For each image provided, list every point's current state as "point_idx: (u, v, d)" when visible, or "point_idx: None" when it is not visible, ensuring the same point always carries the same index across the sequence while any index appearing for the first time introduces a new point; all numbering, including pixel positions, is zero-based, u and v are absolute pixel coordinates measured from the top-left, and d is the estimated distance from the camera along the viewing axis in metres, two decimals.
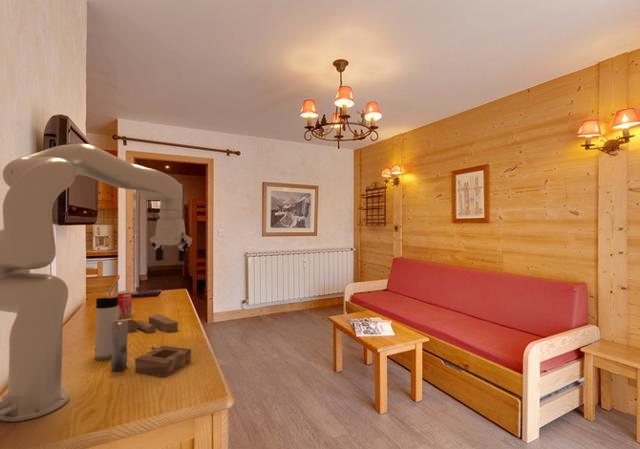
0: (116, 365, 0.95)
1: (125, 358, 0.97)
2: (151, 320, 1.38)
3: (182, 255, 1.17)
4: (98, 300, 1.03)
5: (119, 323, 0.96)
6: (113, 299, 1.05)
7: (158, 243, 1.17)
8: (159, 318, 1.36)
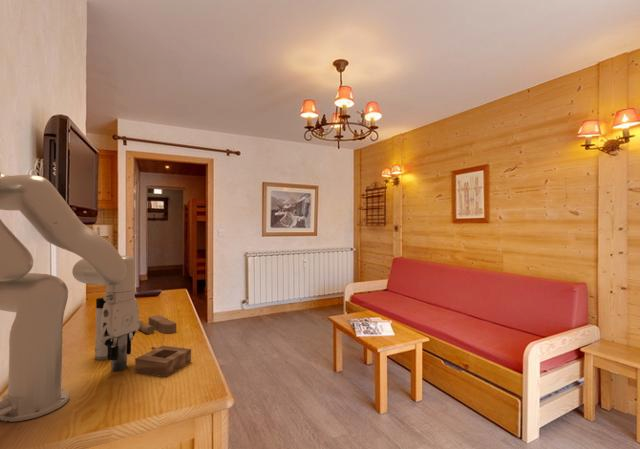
0: (116, 365, 0.95)
1: (125, 358, 0.97)
2: (151, 321, 1.37)
3: None
4: (98, 300, 1.03)
5: None
6: None
7: (118, 335, 0.93)
8: (158, 319, 1.35)
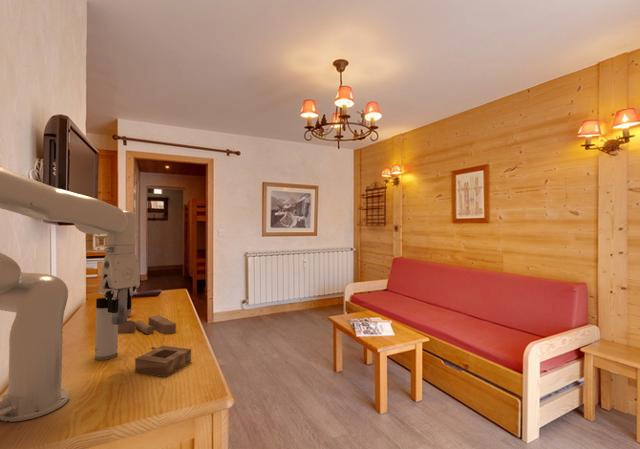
0: (116, 318, 0.95)
1: (125, 312, 0.97)
2: (151, 321, 1.36)
3: None
4: (98, 300, 1.03)
5: None
6: None
7: (118, 287, 0.93)
8: (158, 319, 1.35)
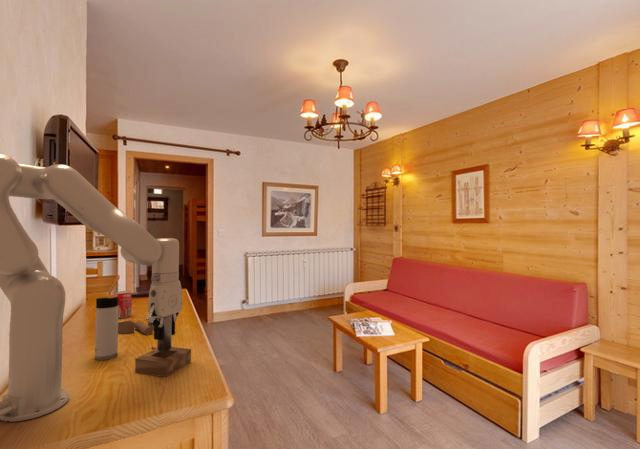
0: (162, 345, 0.97)
1: (170, 338, 0.99)
2: None
3: None
4: (98, 300, 1.03)
5: None
6: (113, 299, 1.05)
7: (165, 315, 0.95)
8: None
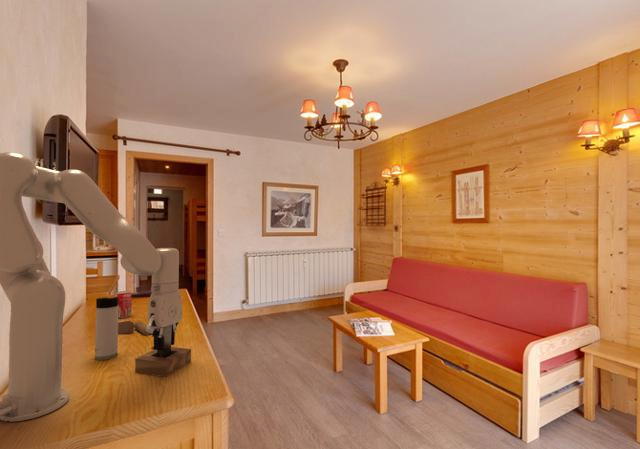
0: (161, 355, 0.97)
1: (170, 348, 0.98)
2: None
3: None
4: (98, 300, 1.03)
5: None
6: (113, 299, 1.05)
7: (164, 325, 0.95)
8: None
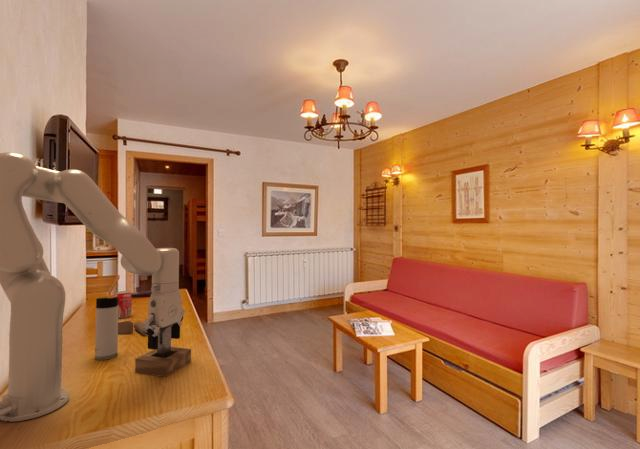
0: None
1: None
2: None
3: None
4: (98, 300, 1.03)
5: None
6: (113, 299, 1.05)
7: (164, 325, 0.95)
8: None
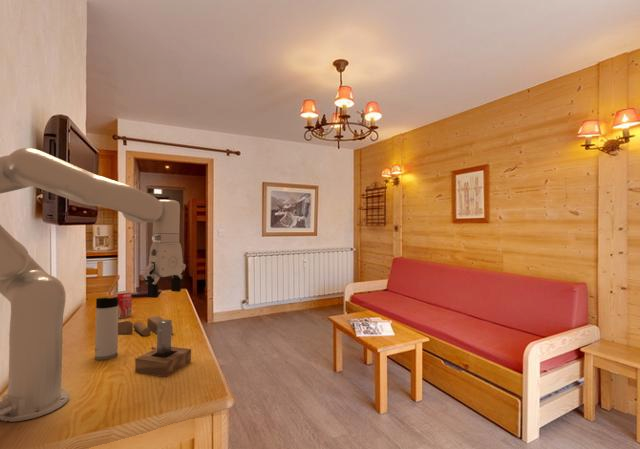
0: None
1: None
2: (149, 322, 1.34)
3: None
4: (98, 300, 1.03)
5: (164, 322, 0.98)
6: (113, 299, 1.05)
7: (165, 274, 0.95)
8: (156, 320, 1.33)
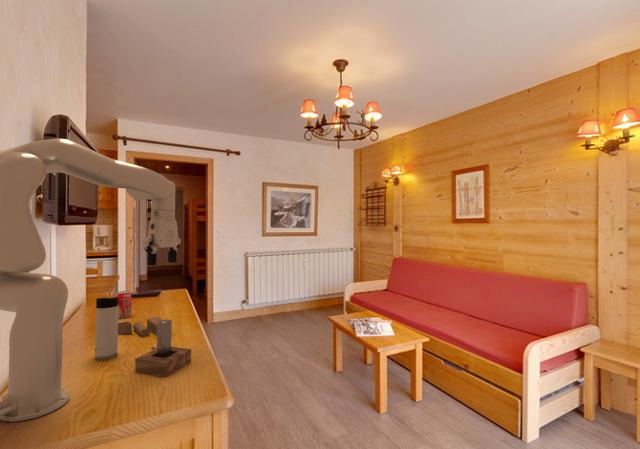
0: None
1: None
2: (149, 323, 1.34)
3: None
4: (98, 300, 1.03)
5: (164, 322, 0.98)
6: (113, 299, 1.05)
7: (162, 245, 1.09)
8: (155, 321, 1.32)
